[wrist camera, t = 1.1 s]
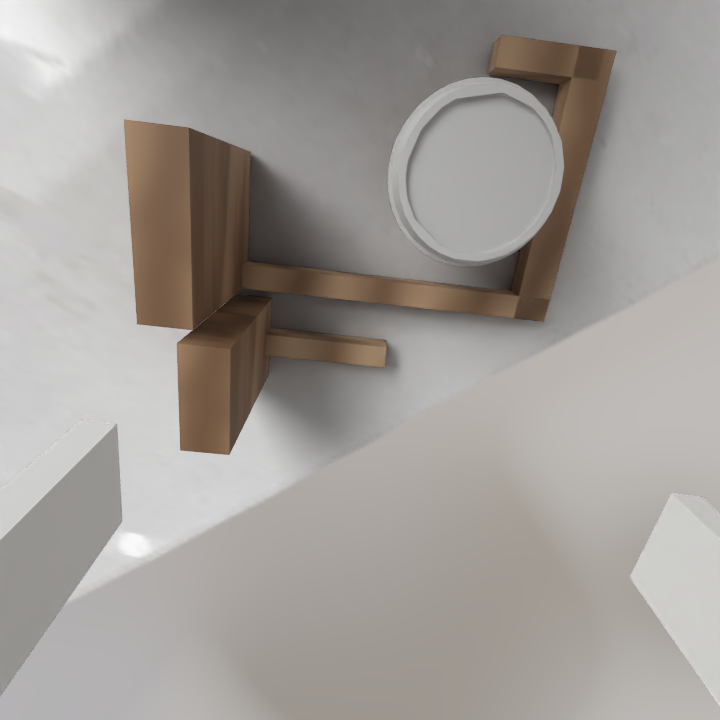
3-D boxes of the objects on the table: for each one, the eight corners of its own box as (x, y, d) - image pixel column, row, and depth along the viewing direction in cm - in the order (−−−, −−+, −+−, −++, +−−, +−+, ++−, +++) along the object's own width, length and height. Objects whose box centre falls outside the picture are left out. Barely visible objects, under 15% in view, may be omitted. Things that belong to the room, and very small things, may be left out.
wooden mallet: (234, 371, 40) (180, 450, 27) (235, 294, 37) (176, 343, 25) (379, 386, 40) (388, 469, 28) (389, 311, 38) (405, 367, 26)
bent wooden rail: (210, 280, 36) (137, 324, 24) (209, 5, 30) (108, -124, 18) (534, 316, 38) (618, 375, 25) (600, 59, 31) (757, -27, 19)
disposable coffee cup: (525, 146, 33) (610, 123, 22) (465, 264, 36) (514, 296, 25) (410, 89, 32) (440, 33, 21) (359, 217, 35) (360, 228, 24)
